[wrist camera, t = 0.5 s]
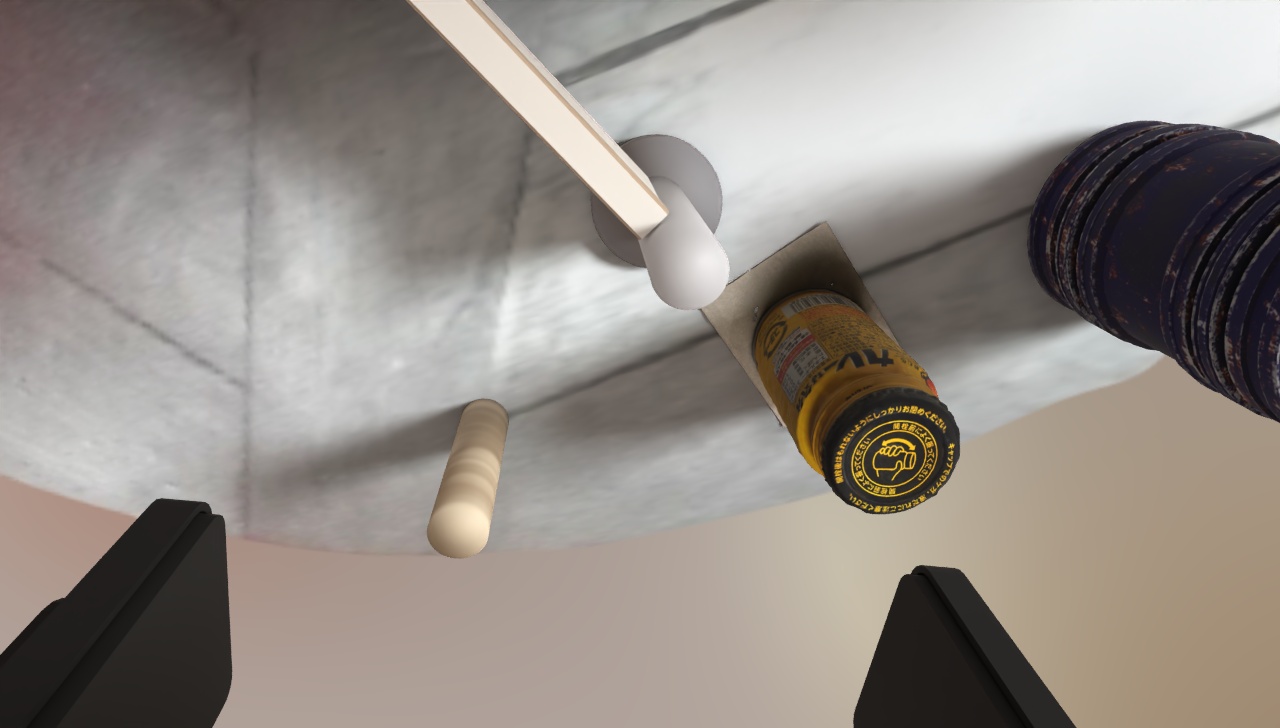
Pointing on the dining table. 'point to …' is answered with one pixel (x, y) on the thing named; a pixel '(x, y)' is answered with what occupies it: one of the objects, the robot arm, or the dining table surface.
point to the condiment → (838, 376)
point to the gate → (589, 154)
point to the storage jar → (1172, 249)
